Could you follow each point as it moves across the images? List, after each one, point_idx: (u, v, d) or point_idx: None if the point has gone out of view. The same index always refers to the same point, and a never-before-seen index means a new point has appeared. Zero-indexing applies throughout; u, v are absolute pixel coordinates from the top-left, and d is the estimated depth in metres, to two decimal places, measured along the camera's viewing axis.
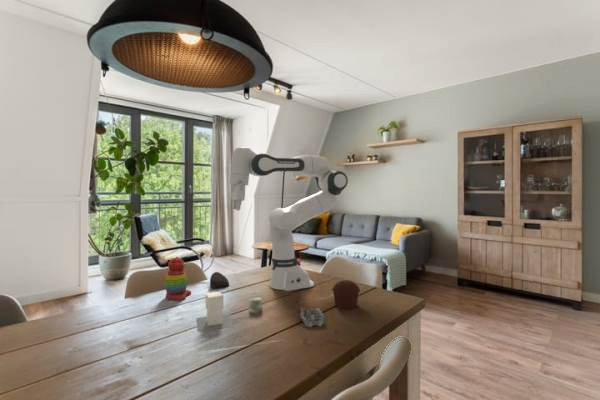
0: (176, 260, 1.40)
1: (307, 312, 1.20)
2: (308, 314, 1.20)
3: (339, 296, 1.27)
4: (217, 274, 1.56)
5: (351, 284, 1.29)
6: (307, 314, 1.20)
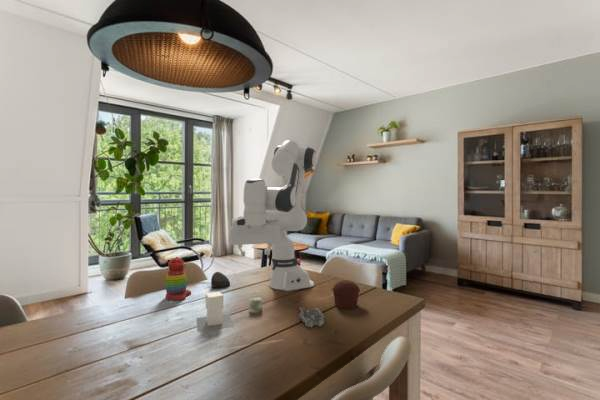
0: (176, 260, 1.40)
1: (306, 312, 1.19)
2: (307, 314, 1.19)
3: (339, 296, 1.27)
4: (218, 274, 1.56)
5: (351, 284, 1.29)
6: (306, 314, 1.19)
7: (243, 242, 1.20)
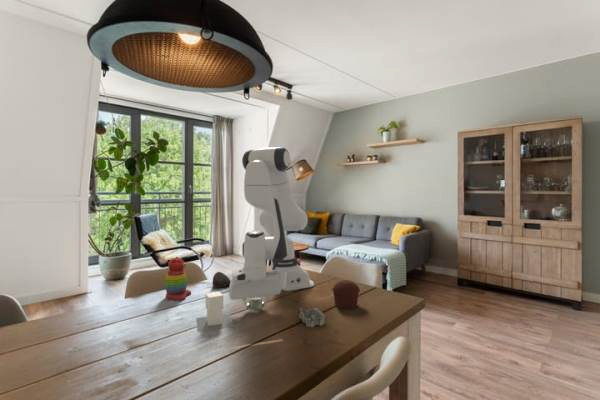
0: (176, 260, 1.40)
1: (306, 312, 1.19)
2: (307, 314, 1.19)
3: (339, 296, 1.27)
4: (220, 274, 1.57)
5: (351, 284, 1.29)
6: (306, 314, 1.19)
7: (243, 296, 1.21)
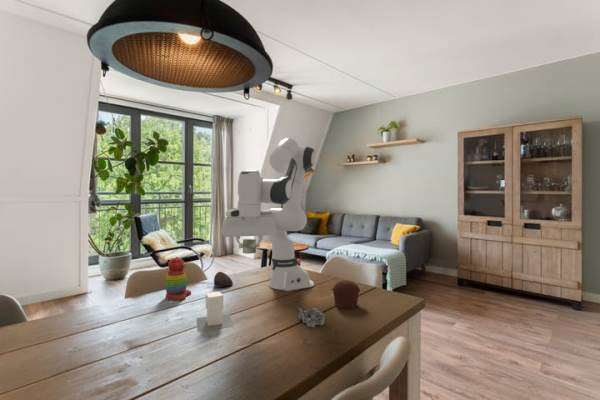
0: (176, 260, 1.40)
1: (305, 312, 1.19)
2: (306, 314, 1.19)
3: (339, 296, 1.27)
4: (221, 274, 1.57)
5: (351, 284, 1.29)
6: (305, 314, 1.19)
7: (237, 234, 1.18)
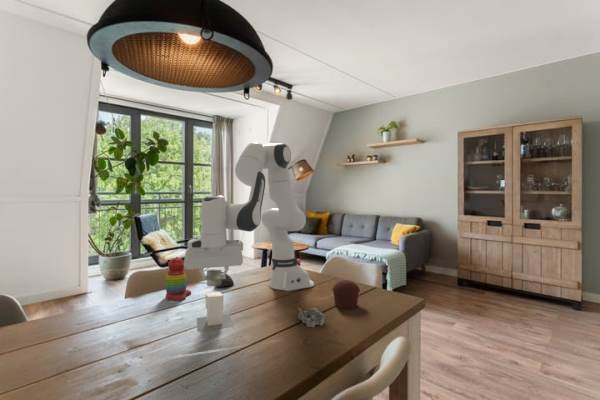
0: (176, 260, 1.40)
1: (304, 312, 1.19)
2: (305, 314, 1.19)
3: (339, 296, 1.27)
4: None
5: (351, 284, 1.29)
6: (304, 314, 1.19)
7: (200, 266, 1.09)
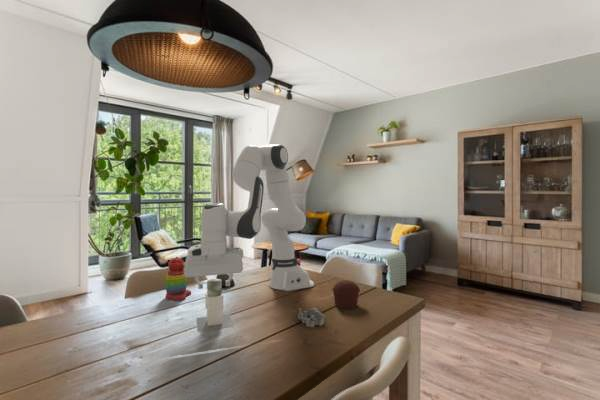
0: (176, 260, 1.40)
1: (304, 312, 1.19)
2: (305, 314, 1.19)
3: (339, 296, 1.27)
4: (223, 274, 1.57)
5: (351, 284, 1.29)
6: (304, 314, 1.19)
7: (200, 274, 1.10)
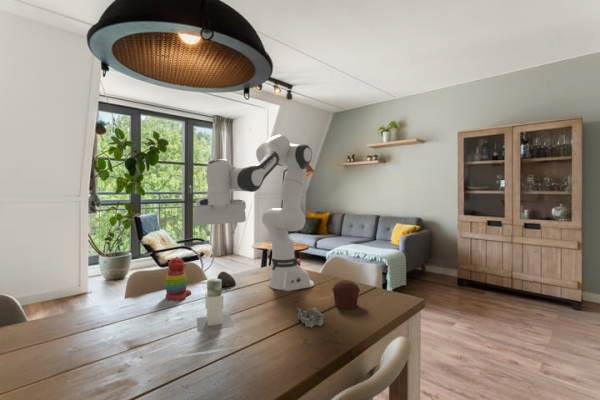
0: (176, 260, 1.40)
1: (304, 312, 1.19)
2: (305, 314, 1.19)
3: (339, 296, 1.27)
4: (224, 274, 1.57)
5: (351, 284, 1.29)
6: (304, 315, 1.19)
7: (207, 222, 1.22)
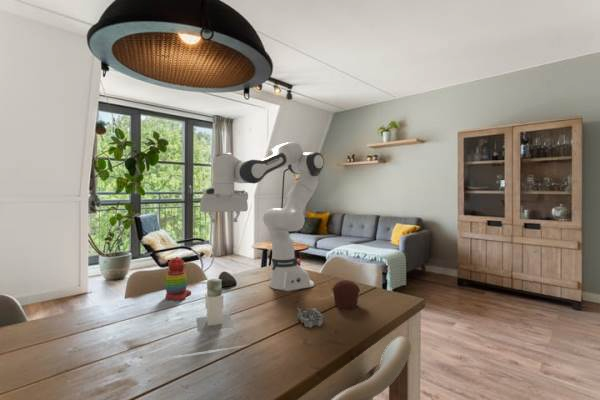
0: (176, 260, 1.40)
1: (304, 312, 1.19)
2: (305, 314, 1.19)
3: (339, 296, 1.27)
4: (225, 273, 1.57)
5: (351, 284, 1.29)
6: (304, 314, 1.19)
7: (213, 210, 1.34)
